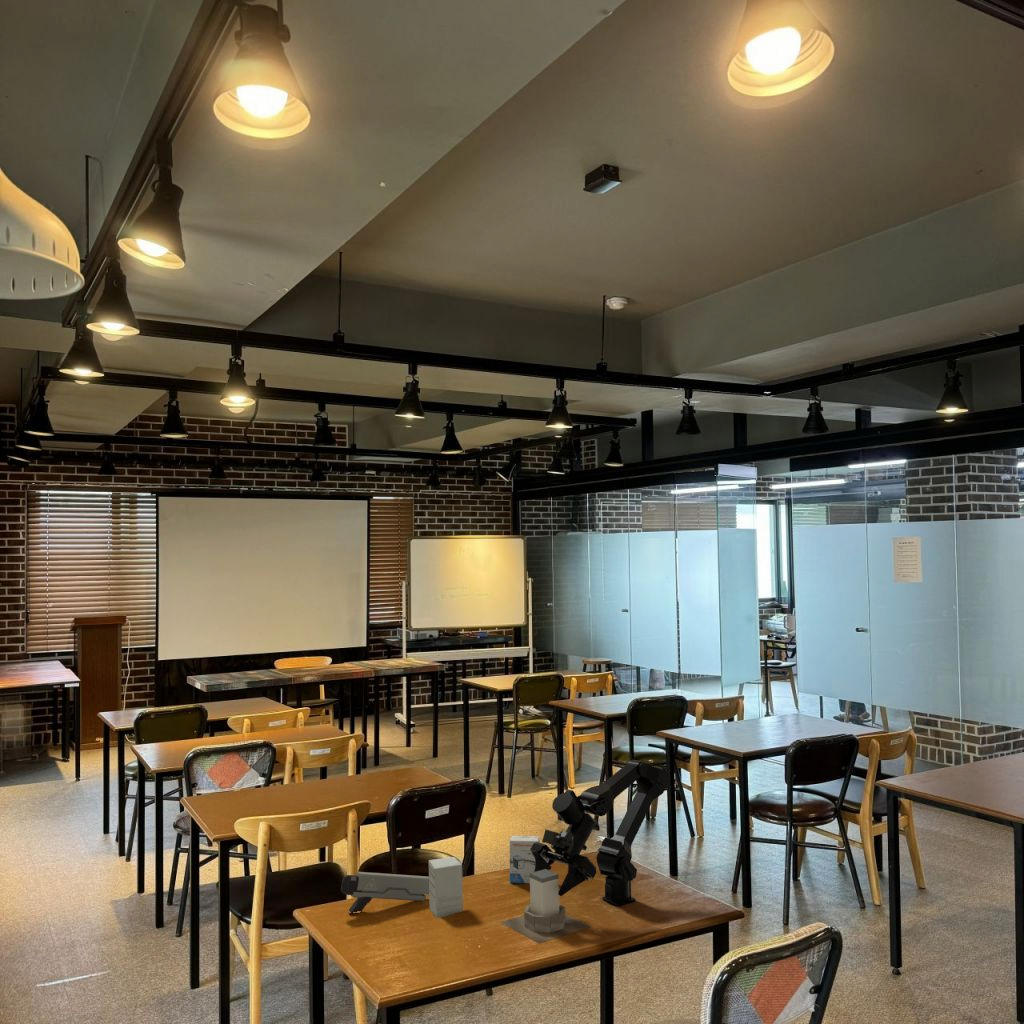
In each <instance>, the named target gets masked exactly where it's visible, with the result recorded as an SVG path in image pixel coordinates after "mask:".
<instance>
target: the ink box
mask: <svg viewBox="0 0 1024 1024" xmlns="http://www.w3.org/2000/svg"><path fill="white" fill-rule="evenodd" d="M536 842H539V843H541V838H540V836H538V835H512V836H510V837H509V883H510V884H530V873H533V872H534V871H535V857H534V856H533V855H532V852H531V851H530V849H531V847H532V846H533V844H534V843H536Z"/></svg>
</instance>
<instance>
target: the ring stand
mask: <svg viewBox="0 0 1024 1024" xmlns="http://www.w3.org/2000/svg"><path fill="white" fill-rule="evenodd" d="M523 913H524V914H523V915H520V916H517V917H513V918H509V919H506V920H503V921H500V922H499V923H500V924H501V925H503V926H505V927H508V928H509V929H511V930H513V931H515V933H516V932H517V933H518V934H520V935H522V936H524V937H526V938H528V939H530V940H532V941H533V942H535V943H537V944H542V943H545V942H549V941H552V940H555V939H558V938H560V937H565V936H567V935H570V934H572V933H575V932H578V931H581V930H584V929H588V928H591V927H592V925H590V924H587V923H586V922H583V921H581V920H579V919H577V918H575V917H573V916H570V915H568V914H566V907H565V906H563V905H561V904H559V913H558V914H555V915H551V916H537V915H534V914H532V913H531V907H530V904H528V905H526V906H525V908H524V912H523Z"/></svg>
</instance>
